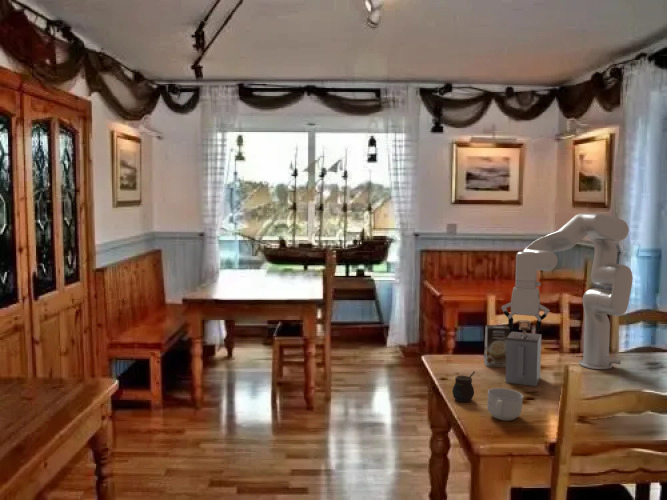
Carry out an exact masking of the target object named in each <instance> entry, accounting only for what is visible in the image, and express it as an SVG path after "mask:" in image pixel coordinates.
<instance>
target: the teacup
mask: <svg viewBox="0 0 667 500" xmlns="http://www.w3.org/2000/svg"><path fill="white" fill-rule="evenodd" d="M523 400H524V395H523V394H522V393H521V392H520V391H517V390H514V389H511V388H503V387H495V388H490V389H488V390H487V401H486V402H487V403H486V404H487V411H488V413H490V414H491V415H492V417H493V418H494V419H497V420H501V421H506V422H507V421H509V422H511V421H513V420H515V419H517V418H518V417H520V415H521V413H522V408H523V402H524V401H523Z"/></svg>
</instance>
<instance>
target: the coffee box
mask: <svg viewBox="0 0 667 500" xmlns="http://www.w3.org/2000/svg"><path fill="white" fill-rule="evenodd" d="M484 331H485V333H484V353H483V358H484V360H483V363H484V365H485V366H486V367H491V368H492V367H493V368H506V351H507V337H508V336H509V334H510V333H511V329H510V327H508V325H501V324H500V325H498V324H485V330H484Z"/></svg>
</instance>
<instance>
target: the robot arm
mask: <svg viewBox="0 0 667 500" xmlns="http://www.w3.org/2000/svg"><path fill="white" fill-rule="evenodd" d="M629 229H630V228H629V225H628V222H627V221H625V220H624V219H621V218H618V217H614V216H611V215H608V214H603V213H599V212H598V213H596V212H595V213H594V212H593V213H592V212H580V213H578V214H576V215H574V216H573V217H571V219H570V220H568V221H567V222H566V223H565V224H564V225H562V226H561V228H559V229H558V230H557V231H554V232H552V233H549V234H547V235H544V236H542V237H540V238H537V239H536V240H534V241H533V242H531V243H530V244H529V245H527V246H526V247H525V248H524V249H523V250H522V251H518V252H516V255H515V283H514V285H515V286H513V288H512V292H511V299H510V302H508V303H506V304H504V305H502V306H501V307H500V308H501V310H502V312H503V314H504V315H505V316H506V317H507V319H508V323H507V324H508V325H507V326H508V327H509V328H510V330H513V328H514V317H513V316H514V315H518V316H519V315H520V316H529V317H530V316H532V317H535V318H536V330H535V331H536V332H537V333H539V331H540V330H542V321H543V320H544V319H546V317H547V316H548V314H549V312H550V311H551V310H550V309H549V308H548V307H546V306H544V305H542V304H541V299H540V290H539V288H538V287H540V286H541V282H539V281H538V280H537V276H538V275H537V274H538V271H545V272H546V271H549V272H550V271H552V270H554V269H555V268H556V267H557V265H558V256H557V255H556V254H555V253H557V252H563V251H568V250H571V249H572V248H574V247H575V246H576V245H577V244H578V243H579V242H581V241H582V240H583V239H584V238H585V237H586V236H588V237H589V239H590V240H591V243H592V244H593V247H594V255H593V261H592V268H591V272H590V273H591V275H590V280H591V282H592V283H593V284H594V285H597V286H601V287H608V288H612V289H611V290H610V289H609V290H608V289H604V288H603V289H602V288H590V289H588V290H586V291H585V292H584V293H583V296H582V306H583V311H584V328H583V351H582V352H583V356H582V357H583V358H582V359H580V360H579V361H578V365H580V366H581V367H583V368H587V369H594V370H609V369H612V368H613V364H615V365H621V362H622V361H621V360H622V359H621V358H620V359H619V358H617V357H611V355H610V335H611V334H610V331H611V323H610V319H609V317H608V315H609V316H614V317H619V316H620V317H621V316H623V315H625V313H626V312H627V310H628V307H629V304H630V299H631V292H632V286H633V280H634V279H633V271H632V269H631V268H630V267H629V266H628V265H625V264H619V263H617V258H618V249H617V245H616V244H615V242H620V241H624V240H625V239H626V238H627V237H628V235H629ZM614 241H615V242H614ZM507 308H510V312H509V311H508V310H507ZM541 310H542V311H543V313H542V315H541V314H540V311H541Z"/></svg>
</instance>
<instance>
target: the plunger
mask: <svg viewBox="0 0 667 500" xmlns="http://www.w3.org/2000/svg"><path fill="white" fill-rule="evenodd" d="M518 330H520V331H522V333H523V337H526V333H527V331H531V321H530V320H519V321H518Z"/></svg>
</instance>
